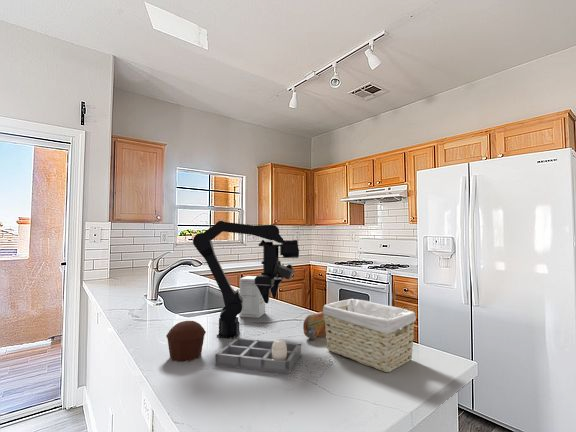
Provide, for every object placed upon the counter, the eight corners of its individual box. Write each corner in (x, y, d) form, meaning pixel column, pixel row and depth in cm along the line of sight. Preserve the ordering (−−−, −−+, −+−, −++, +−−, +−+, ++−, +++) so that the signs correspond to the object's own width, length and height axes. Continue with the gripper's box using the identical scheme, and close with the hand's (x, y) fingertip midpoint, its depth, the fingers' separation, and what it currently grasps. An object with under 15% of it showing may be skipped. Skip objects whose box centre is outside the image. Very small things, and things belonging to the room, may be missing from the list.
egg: (269, 364, 88) (269, 341, 88) (274, 358, 92) (274, 336, 92) (284, 365, 87) (284, 343, 87) (288, 359, 91) (288, 338, 91)
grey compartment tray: (215, 365, 90) (215, 354, 90) (236, 347, 104) (236, 337, 105) (288, 374, 85) (288, 362, 85) (300, 353, 99) (300, 343, 99)
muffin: (188, 366, 90) (189, 329, 90) (157, 360, 93) (157, 325, 94) (212, 351, 101) (213, 319, 101) (183, 346, 104) (184, 315, 105)
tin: (308, 342, 109) (308, 317, 110) (301, 339, 112) (301, 315, 112) (336, 332, 120) (336, 310, 120) (329, 331, 122) (329, 308, 122)
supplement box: (265, 313, 148) (266, 276, 149) (259, 318, 139) (259, 279, 140) (246, 311, 150) (246, 275, 151) (238, 316, 141) (239, 278, 142)
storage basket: (419, 361, 94) (418, 310, 94) (389, 377, 83) (388, 320, 84) (352, 340, 112) (352, 297, 112) (320, 351, 101) (320, 304, 102)
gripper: (285, 261, 109) (284, 307, 108) (297, 256, 127) (297, 296, 126) (254, 260, 111) (253, 305, 111) (270, 256, 129) (270, 295, 129)
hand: (270, 300), depth 119 cm, fingers open, 9 cm apart
